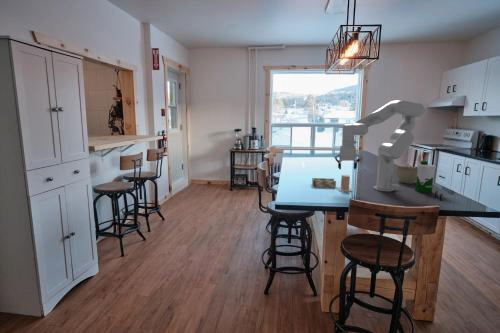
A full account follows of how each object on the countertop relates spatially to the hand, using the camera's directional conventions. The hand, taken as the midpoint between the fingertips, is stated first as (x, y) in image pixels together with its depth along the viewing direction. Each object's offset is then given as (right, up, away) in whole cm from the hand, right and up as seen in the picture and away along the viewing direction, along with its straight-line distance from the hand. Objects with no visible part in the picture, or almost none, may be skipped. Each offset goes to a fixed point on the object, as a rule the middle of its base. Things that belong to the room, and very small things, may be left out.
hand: (347, 168), depth 194 cm
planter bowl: (+53, -11, +26) cm, 60 cm away
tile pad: (-1, -14, +2) cm, 14 cm away
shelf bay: (-13, -12, +12) cm, 21 cm away
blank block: (-1, -13, +2) cm, 14 cm away
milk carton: (+51, -15, +1) cm, 53 cm away
